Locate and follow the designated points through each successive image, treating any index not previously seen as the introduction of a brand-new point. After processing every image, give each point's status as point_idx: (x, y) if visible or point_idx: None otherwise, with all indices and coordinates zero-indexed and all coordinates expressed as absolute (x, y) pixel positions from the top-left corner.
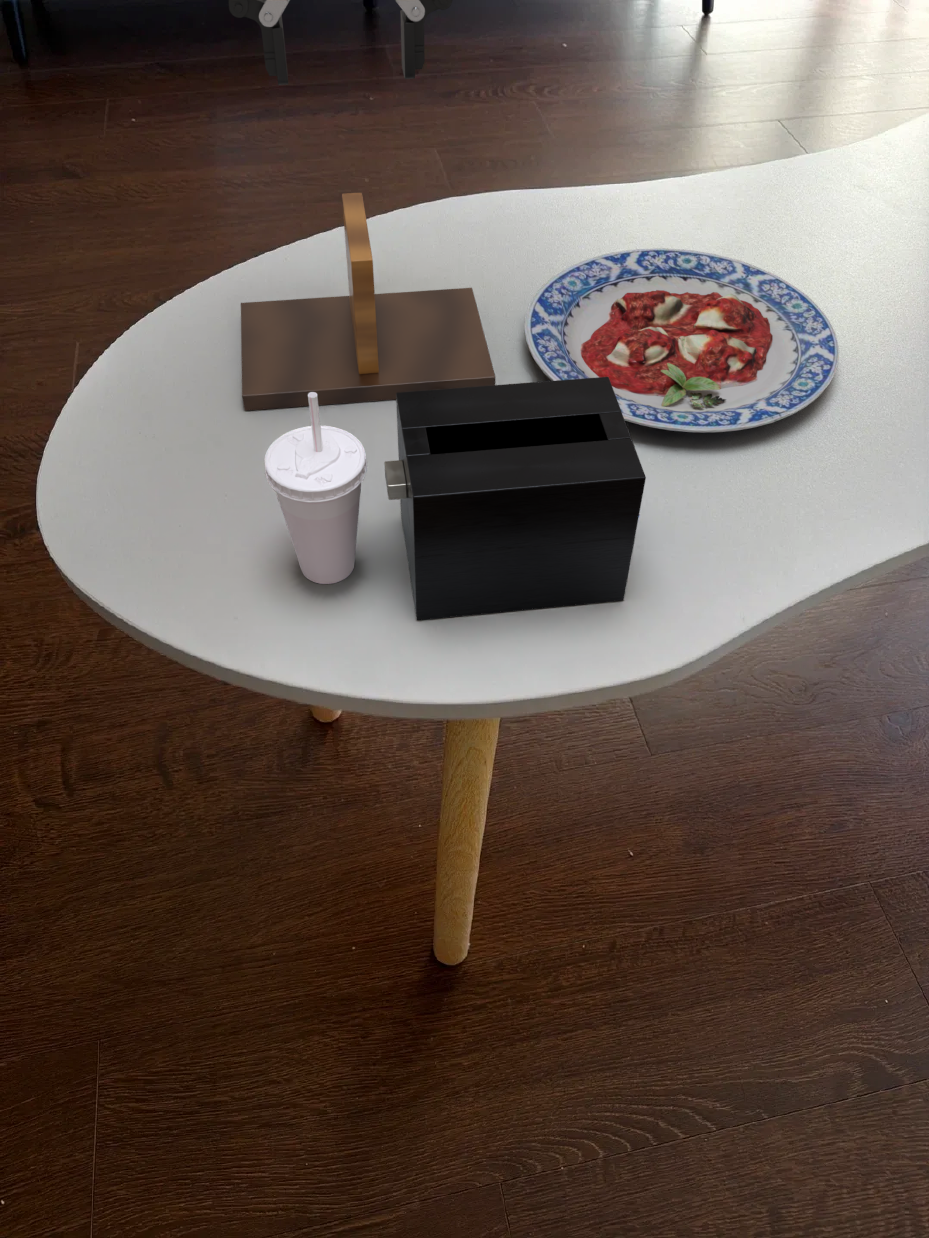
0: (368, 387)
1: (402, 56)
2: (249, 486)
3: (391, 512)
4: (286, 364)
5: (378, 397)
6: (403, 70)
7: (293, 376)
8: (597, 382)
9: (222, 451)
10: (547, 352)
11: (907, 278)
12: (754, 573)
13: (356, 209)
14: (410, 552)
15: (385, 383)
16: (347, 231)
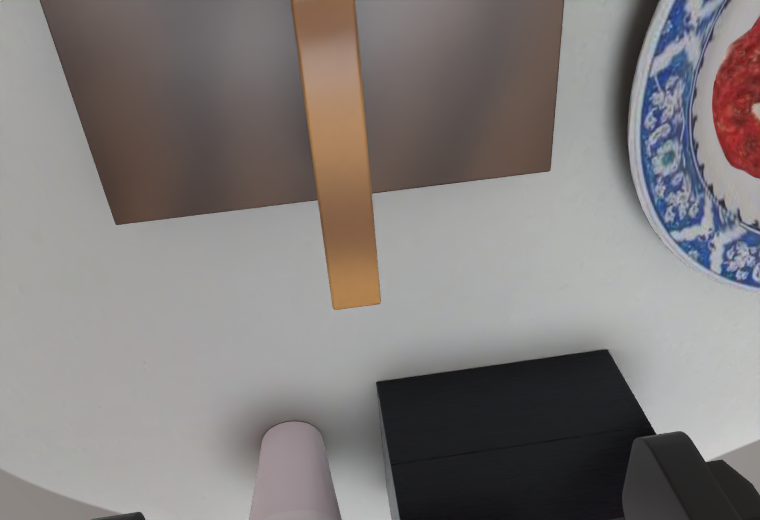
0: None
1: (659, 500)
2: (172, 347)
3: (364, 375)
4: (176, 142)
5: None
6: (634, 483)
7: (197, 174)
8: None
9: (112, 290)
10: (656, 129)
11: None
12: (729, 423)
13: (339, 96)
14: (391, 506)
15: None
16: (319, 199)
